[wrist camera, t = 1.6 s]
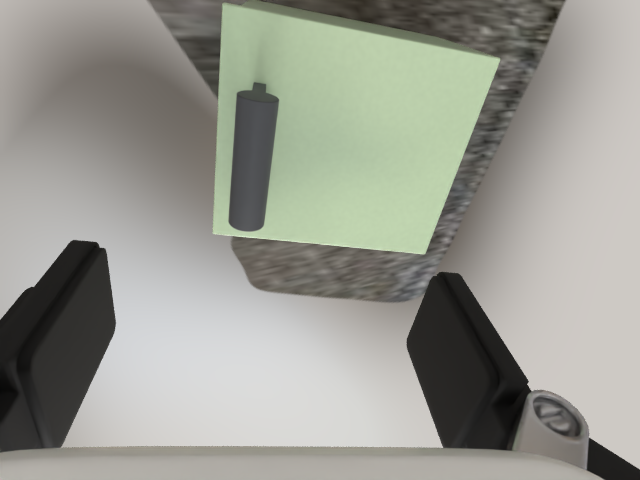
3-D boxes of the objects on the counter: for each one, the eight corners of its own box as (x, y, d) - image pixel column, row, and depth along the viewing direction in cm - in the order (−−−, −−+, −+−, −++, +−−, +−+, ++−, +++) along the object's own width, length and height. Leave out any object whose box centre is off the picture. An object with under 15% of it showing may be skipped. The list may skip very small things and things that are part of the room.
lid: (213, 227, 27) (202, 276, 23) (223, 2, 20) (209, 7, 16) (421, 248, 30) (447, 295, 26) (494, 56, 23) (548, 74, 18)
